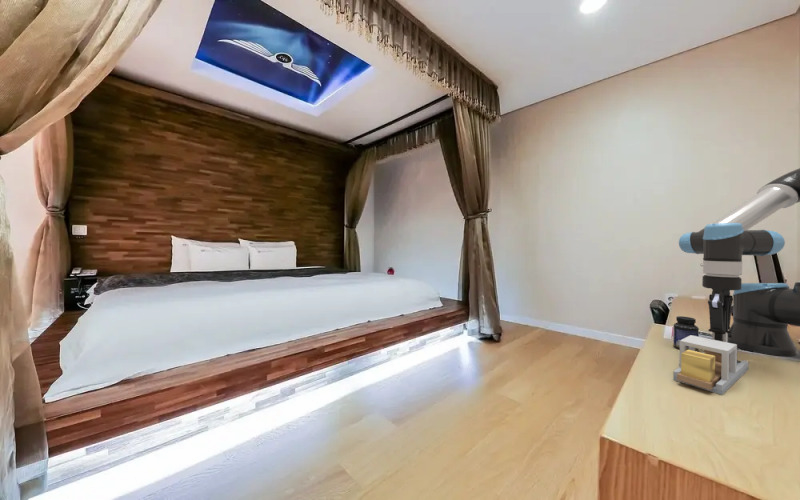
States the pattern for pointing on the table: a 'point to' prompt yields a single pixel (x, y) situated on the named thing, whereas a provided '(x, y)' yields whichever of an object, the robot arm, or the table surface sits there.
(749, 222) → the robot arm
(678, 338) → the pill bottle
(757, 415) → the table surface
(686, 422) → the table surface
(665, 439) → the table surface
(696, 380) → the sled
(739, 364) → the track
